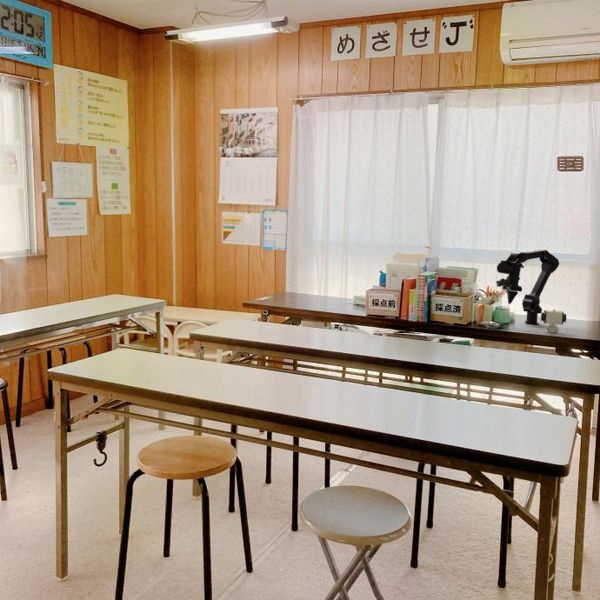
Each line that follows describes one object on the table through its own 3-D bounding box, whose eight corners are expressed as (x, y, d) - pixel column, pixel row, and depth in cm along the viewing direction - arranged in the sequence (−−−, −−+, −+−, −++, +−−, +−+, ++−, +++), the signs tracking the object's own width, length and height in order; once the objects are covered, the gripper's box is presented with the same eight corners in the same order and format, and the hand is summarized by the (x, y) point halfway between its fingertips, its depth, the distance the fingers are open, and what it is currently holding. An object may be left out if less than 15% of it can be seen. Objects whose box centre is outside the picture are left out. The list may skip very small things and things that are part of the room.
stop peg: (496, 327, 331) (497, 322, 331) (502, 327, 331) (503, 322, 331) (497, 328, 328) (498, 323, 328) (503, 328, 328) (504, 323, 328)
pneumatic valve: (565, 333, 317) (567, 310, 315) (540, 332, 320) (542, 309, 318) (563, 331, 322) (565, 308, 320) (539, 330, 325) (541, 307, 323)
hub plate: (484, 326, 334) (484, 324, 333) (497, 326, 333) (497, 324, 333) (486, 328, 327) (486, 326, 327) (500, 329, 326) (500, 327, 326)
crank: (500, 327, 328) (501, 306, 327) (495, 328, 326) (496, 307, 324) (480, 324, 338) (481, 303, 336) (475, 324, 335) (476, 304, 334)
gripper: (494, 273, 344) (490, 300, 345) (502, 273, 326) (498, 302, 327) (515, 275, 344) (510, 303, 344) (524, 276, 325) (519, 305, 326)
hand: (509, 303), depth 335 cm, fingers closed
